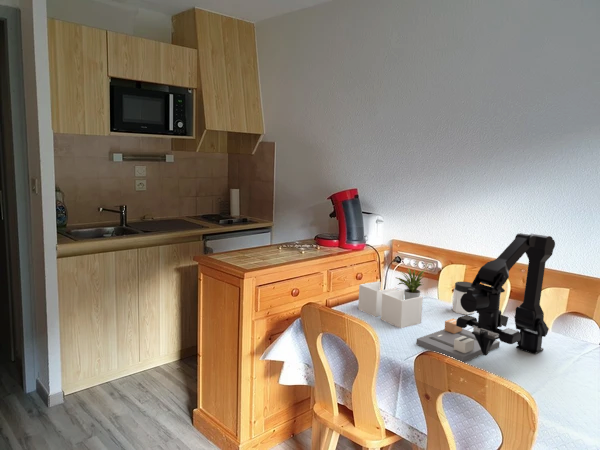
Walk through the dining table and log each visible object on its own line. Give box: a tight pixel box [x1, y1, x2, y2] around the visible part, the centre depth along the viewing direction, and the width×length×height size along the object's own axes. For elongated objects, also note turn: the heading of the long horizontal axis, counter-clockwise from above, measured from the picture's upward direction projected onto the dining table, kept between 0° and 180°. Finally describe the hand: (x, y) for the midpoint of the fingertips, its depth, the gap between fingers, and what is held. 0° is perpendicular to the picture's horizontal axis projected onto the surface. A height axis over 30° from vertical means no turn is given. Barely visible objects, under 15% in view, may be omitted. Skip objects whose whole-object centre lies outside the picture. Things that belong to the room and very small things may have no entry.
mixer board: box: [416, 328, 501, 363], centre depth 160 cm, size 18×22×2 cm
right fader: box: [444, 318, 463, 334], centre depth 168 cm, size 4×5×4 cm
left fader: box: [454, 336, 474, 353], centre depth 151 cm, size 4×5×4 cm
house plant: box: [394, 267, 427, 300], centre depth 204 cm, size 14×14×16 cm
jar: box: [451, 281, 476, 316], centre depth 196 cm, size 9×8×12 cm
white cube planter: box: [357, 281, 424, 329], centre depth 188 cm, size 25×11×11 cm, turn 33°
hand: (485, 354), depth 146 cm, fingers closed
